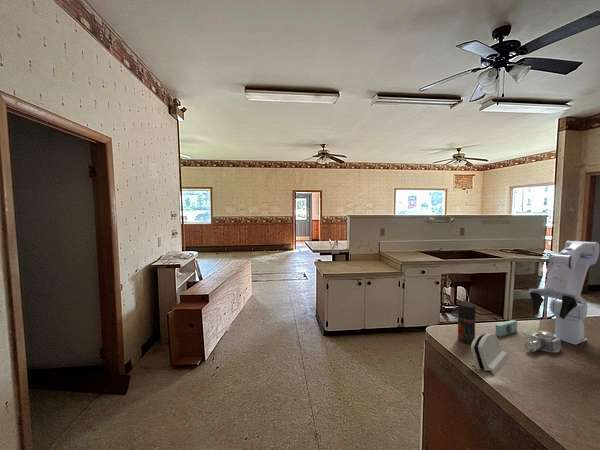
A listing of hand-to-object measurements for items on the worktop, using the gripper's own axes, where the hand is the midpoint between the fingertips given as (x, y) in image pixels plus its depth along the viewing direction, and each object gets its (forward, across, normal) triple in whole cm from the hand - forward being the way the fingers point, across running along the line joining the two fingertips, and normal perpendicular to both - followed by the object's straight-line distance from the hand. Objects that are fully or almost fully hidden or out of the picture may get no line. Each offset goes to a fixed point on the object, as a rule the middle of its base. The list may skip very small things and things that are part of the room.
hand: (548, 315), depth 97 cm
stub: (+7, -5, +14) cm, 16 cm away
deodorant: (+20, -21, -4) cm, 29 cm away
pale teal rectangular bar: (+6, -18, +14) cm, 23 cm away
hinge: (+26, -8, -9) cm, 28 cm away
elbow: (+9, -5, +11) cm, 15 cm away
